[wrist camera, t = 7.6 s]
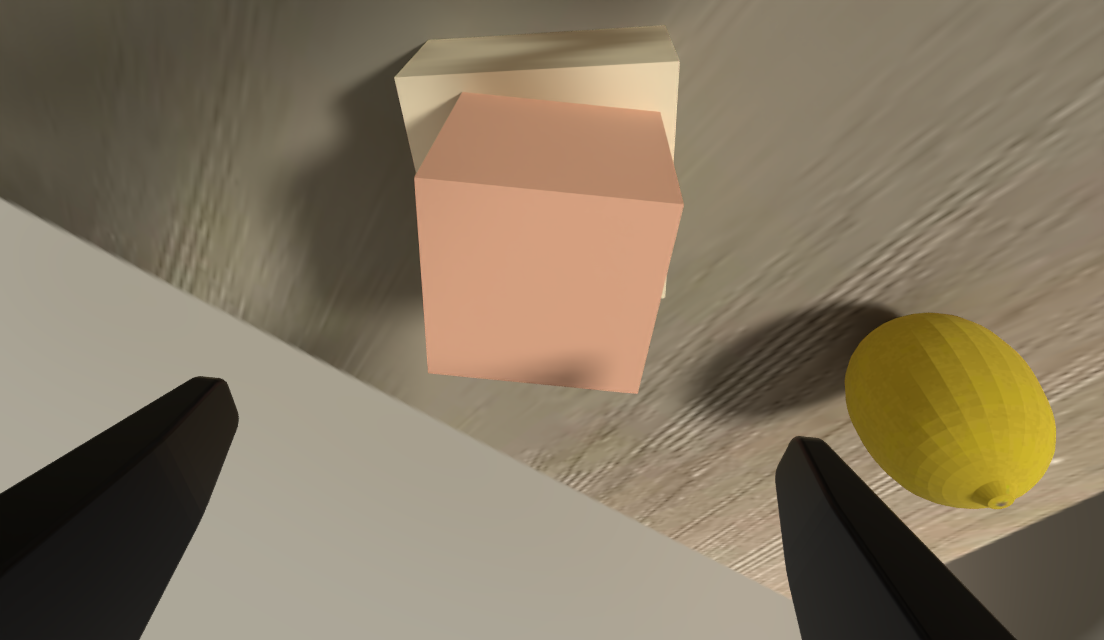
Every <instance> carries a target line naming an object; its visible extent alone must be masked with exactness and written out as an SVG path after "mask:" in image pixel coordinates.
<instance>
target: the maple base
mask: <svg viewBox="0 0 1104 640" xmlns="http://www.w3.org/2000/svg"><path fill="white" fill-rule="evenodd" d="M679 64H680V61H679V58H678V56H677V54H676V51H675V49H674V46H673V44H672V41H671V39H670V36H669V34H668V32H667V29H666V27H665V25H661V26H645V27H630V28H614V29H598V30H582V31H566V32H550V33H534V34H518V35H502V36H486V37H470V38H454V39H438V40H428V41H427V42H426V43H425V44H424V45H423V46H422V47H421V48H420V50H419V51H418V52H417V53H416V54H415V55H414V56H413V57H412V58H411V59H410V61H409V62H408V63H407V64H406V65H405V66H404V67H403V68H402V69H401V71H400V72H399V73H398V74H397V75H396V76H395V77H394V79H395V83H396V87H397V92H398V96H399V101H400V105H401V109H402V114H403V118H404V123H405V127H406V131H407V136H408V140H409V145H410V149H411V153H412V158H413V162H414V167H415V171H416V173H417V172H418V170H419V168H420V166H421V165H422V163H423V161H424V159H425V157H426V156H427V154H428V152H429V150H430V148H431V147H432V145H433V143H434V141H435V140H436V138H437V136H438V134H439V132H440V131H441V129H442V127H443V125H444V124H445V122H446V120H447V118H448V116H449V115H450V113H451V111H452V109H453V108H454V106H455V104H456V102H457V100H458V99H459V97H460V95H461V93H462V92H469V93H479V94H488V95H498V96H508V97H518V98H528V99H538V100H548V101H558V102H568V103H578V104H588V105H597V106H607V107H617V108H627V109H637V110H647V111H657V112H660V113H661V117H662V121H663V124H664V128H665V132H666V136H667V140H668V144H669V148H670V152H671V156H672V160H673V161H674V145H675V128H676V112H677V96H678V80H679ZM665 290H666V280H665V284H664V288H663V292H662V296H661V298H665Z"/></svg>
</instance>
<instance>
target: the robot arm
mask: <svg viewBox="0 0 1104 640" xmlns="http://www.w3.org/2000/svg"><path fill="white" fill-rule="evenodd" d="M238 417H239V416H238V411H237V409H236V406H235V403H234V400H233V397H232V395H231V392H230V389H229V387H228V384H227V382H225V381H224V380H223V379H221V378H213V377H203V376H198V377H194V378H192V379H190V380H189V381H187V382H185V383H184V384H182V385H180V386H178V387H177V388H175V389H173V390H172V391H170V392H168V393H167V394H165V395H163V396H162V397H160V398H159V399H157V400H155V401H153V402H152V403H150V404H149V405H147V406H145V407H143V408H142V409H140V410H139V411H137V412H135V413H134V414H132V415H130V416H128V417H127V418H125V419H123V420H122V421H120V422H119V423H117V424H115V425H114V426H112V427H110V428H109V429H107V430H105V431H104V432H102V433H100V434H99V435H97V436H95V437H94V438H92V439H90V440H89V441H87V442H85V443H84V444H82V445H80V446H79V447H77V448H75V449H74V450H72V451H70V452H69V453H67V454H65V455H64V456H62V457H60V458H59V459H57V460H55V461H54V462H52V463H51V464H49V465H47V466H46V467H44V468H42V469H40V470H39V471H37V472H35V473H34V474H32V475H30V476H29V477H27V478H25V479H24V480H22V481H21V482H19V483H17V484H16V485H14V486H12V487H11V488H9V489H7V490H5V491H4V492H2V493H0V640H139V639H140V637H141V635H142V633H143V632H144V630H145V628H146V626H147V624H148V622H149V620H150V618H151V616H152V614H153V612H154V610H155V608H156V606H157V605H158V603H159V601H160V599H161V597H162V595H163V593H164V591H165V589H166V587H167V585H168V583H169V581H170V579H171V577H172V575H173V573H174V571H175V570H176V568H177V565H178V564H179V562H180V560H181V558H182V556H183V554H184V552H185V550H186V548H187V546H188V545H189V542H190V541H191V539H192V537H193V535H194V533H195V531H196V529H197V527H198V525H199V523H200V521H201V519H202V516H203V514H204V512H205V510H206V507H207V505H208V503H209V500H210V497H211V495H212V492H213V490H214V487H215V485H216V482H217V479H218V476H219V474H220V472H221V469H222V466H223V464H224V461H225V459H226V456H227V453H228V450H229V448H230V445H231V443H232V440H233V437H234V435H235V433H236V430H237V427H238V421H239V418H238ZM775 483H776V492H777V500H778V508H779V517H780V525H781V533H782V542H783V550H784V558H785V565H786V572H787V577H788V582H789V586H790V591H791V595H792V599H793V603H794V608H795V612H796V616H797V621H798V624H799V629H800V633H801V638H802V640H1017V639H1016V638H1015V637H1014V636H1013V635H1012V634H1011V633H1010V632H1009V631H1008V630H1007V629H1006V628H1005V627H1004V626H1003V625H1002V623H1001V622H1000V621H999V620H998V619H997V618H996V617H994V615H993V614H992V613H991V612H990V611H989V610H988V609H987V608H986V607H985V606H984V605H983V604H982V603H981V602H980V601H979V600H978V599H977V598H976V597H975V596H974V595H973V594H972V593H971V592H970V591H969V589H968V588H967V587H966V586H964V584H963V583H962V582H961V581H960V580H959V579H958V578H957V577H956V576H955V575H954V574H953V573H952V572H951V571H950V570H949V569H948V568H947V567H946V566H945V565H944V564H943V563H942V562H941V561H940V560H939V559H938V558H937V557H936V556H935V555H934V553H933V552H932V551H931V550H930V549H929V548H928V547H927V546H926V545H925V544H924V543H923V542H922V541H921V540H920V539H919V538H918V537H917V536H916V535H915V534H914V533H913V532H912V531H911V530H910V529H909V528H908V527H907V526H906V525H905V524H904V523H903V522H902V521H901V520H900V518H899V517H898V516H897V515H896V514H895V513H894V512H893V511H892V510H891V509H890V508H889V507H888V506H887V505H886V504H885V503H884V502H883V501H882V500H881V499H880V498H879V497H878V496H877V495H876V494H875V493H874V492H873V491H872V490H871V489H870V488H869V487H868V486H867V485H866V483H865V482H864V481H863V480H862V479H861V478H860V477H859V476H858V475H857V474H856V473H855V472H854V471H853V470H852V469H851V468H850V467H849V466H848V465H847V464H846V463H845V462H844V461H843V460H842V459H841V458H840V457H839V456H838V455H837V454H836V453H835V452H834V451H833V450H832V449H831V447H830V446H829V445H828V444H827V443H826V442H824V441H823V440H821V439H819V438H813V437H803V436H796V437H794V438H793V439H792V440H791V442H790V443H789V445H788V447H787V449H786V451H785V453H784V455H783V457H782V459H781V461H780V462H779V464H778V466H777V469H776V475H775Z"/></svg>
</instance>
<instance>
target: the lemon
mask: <svg viewBox="0 0 1104 640" xmlns="http://www.w3.org/2000/svg"><path fill="white" fill-rule="evenodd" d="M845 394H846V404H847V409H848V412H849V416H850V418H851V421H852V423H853V425H854V427H855V429H856V431H857V433H858V435H859V437H860V439H861V441H862V443H863V444H864V446H865V447H866V449H867V450H868V452H869V453H870V455H871V456H872V457H873V459H874V460H875V461H876V462H877V463H878V464H879V466H880V467H881V468H882V469H883V470H884V471H885V472H886V473H887V474H888V475H889V476H891V477H892V478H893V479H894V480H895V481H896V482H898V483H899V484H900V485H901V486H903V487H904V488H905V489H906V490H908V491H910V492H911V493H913V494H915V495H917V496H919V497H922V498H924V499H926V500H929V501H931V502H934V503H937V504H941V505H945V506H950V507H956V508H968V509H980V508H992V509H1002V508H1006V507H1008V506H1010V505H1011V504H1013V502H1014V500H1015V499H1016V498H1018V497H1020V496H1022V495H1023V494H1025V493H1026V492H1027V491H1029V490H1030V489H1031V488H1032V487H1033V486H1035V484H1036V483H1037V482H1038V481H1039V480H1040V479H1041V478H1042V477H1043V475H1044V474H1045V472H1046V471H1047V469H1048V467H1049V464H1050V462H1051V460H1052V457H1053V455H1054V452H1055V443H1056V427H1055V420H1054V416H1053V413H1052V410H1051V407H1050V405H1049V402H1048V400H1047V398H1046V396H1045V394H1044V392H1043V390H1042V388H1041V386H1040V384H1039V382H1038V380H1037V378H1036V376H1035V375H1034V373H1033V372H1032V370H1031V368H1030V367H1029V366H1028V364H1027V363H1026V362H1025V360H1024V359H1023V358H1022V357H1021V356H1020V355H1019V354H1018V353H1017V352H1016V351H1015V350H1014V349H1013V348H1012V347H1011V346H1009V345H1008V344H1007V343H1006V342H1004V341H1003V340H1002V339H1001V338H999V337H998V336H997V335H995V334H994V333H993V332H991V331H990V330H988V329H986V328H985V327H983V326H981V325H979V324H976V323H974V322H971V321H969V320H966V319H963V318H961V317H958V316H954V315H948V314H939V313H918V314H911V315H907V316H903V317H899V318H895V319H893V320H891V321H888V322H886V323H884V324H882V325H881V326H879V327H878V328H876V329H875V330H873V331H872V332H870V333H869V334H868V335H867V336H866V337H865V338H864V339H863V340H862V341H861V342H860V343H859V345H858V347H857V348H856V350H855V351H854V353H853V354H852V356H851V358H850V361H849V364H848V368H847V371H846V374H845Z"/></svg>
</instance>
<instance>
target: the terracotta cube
mask: <svg viewBox="0 0 1104 640" xmlns="http://www.w3.org/2000/svg"><path fill="white" fill-rule="evenodd" d="M414 181H415V195H416V209H417V223H418V237H419V251H420V265H421V279H422V293H423V307H424V321H425V335H426V349H427V363H428V373H432V374H442V375H452V376H462V377H472V378H483V379H493V380H503V381H513V382H523V383H533V384H544V385H554V386H564V387H574V388H584V389H594V390H605V391H615V392H625V393H635V394H638V390H639V386H640V382H641V378H642V374H643V369H644V365H645V361H646V357H647V353H648V349H649V345H650V341H651V337H652V333H653V329H654V325H655V320H656V316H657V312H658V308H659V304H660V300H661V296H662V292H663V288H664V284H665V280H666V276H667V271H668V267H669V263H670V259H671V255H672V251H673V247H674V243H675V239H676V235H677V231H678V227H679V223H680V218H681V214H682V210H683V206H684V203H683V199H682V195H681V191H680V187H679V183H678V179H677V175H676V171H675V168H674V164H673V160H672V156H671V152H670V148H669V144H668V140H667V136H666V132H665V128H664V124H663V121H662V117H661V113H660V112H657V111H647V110H637V109H627V108H617V107H607V106H597V105H588V104H578V103H568V102H558V101H548V100H538V99H528V98H518V97H508V96H498V95H488V94H479V93H469V92H462V93H461V95H460V97H459V99H458V100H457V102H456V104H455V106H454V108H453V109H452V111H451V113H450V115H449V116H448V118H447V120H446V122H445V124H444V125H443V127H442V129H441V131H440V132H439V134H438V136H437V138H436V140H435V141H434V143H433V145H432V147H431V148H430V150H429V152H428V154H427V156H426V157H425V159H424V161H423V163H422V165H421V166H420V168H419V170H418V172H417V173H416V175H415V177H414Z"/></svg>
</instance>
